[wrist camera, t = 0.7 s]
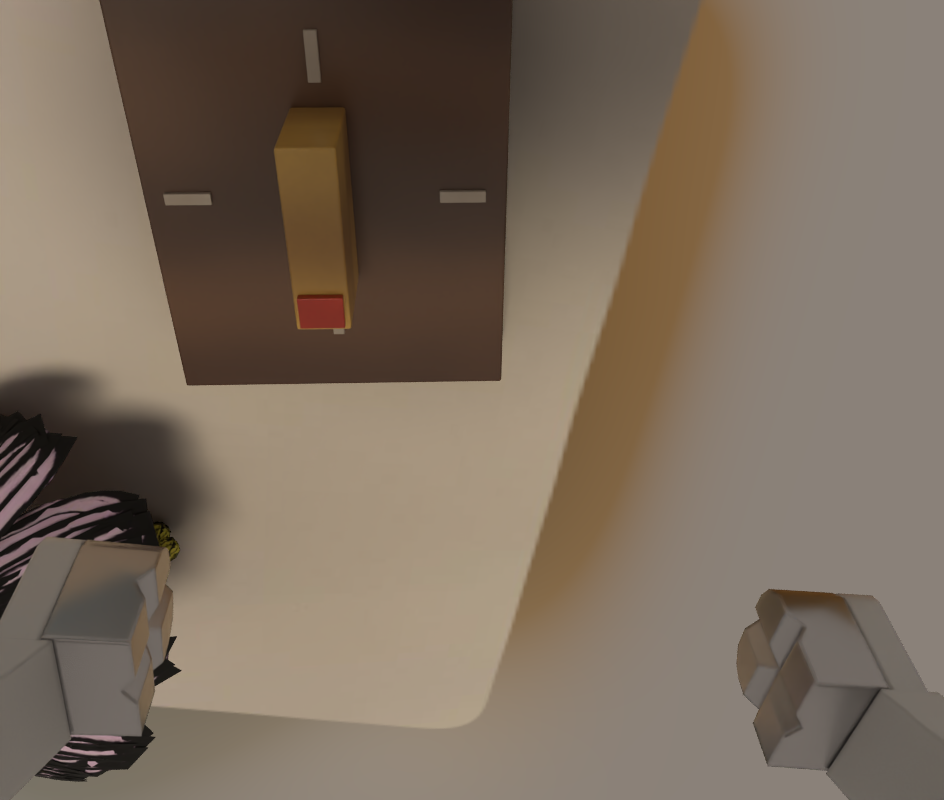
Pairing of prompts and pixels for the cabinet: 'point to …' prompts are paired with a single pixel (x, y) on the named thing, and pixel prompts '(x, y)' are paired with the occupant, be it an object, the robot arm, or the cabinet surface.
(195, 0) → the plate
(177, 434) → the cabinet surface
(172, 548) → the decorative flower
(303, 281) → the lock knob
